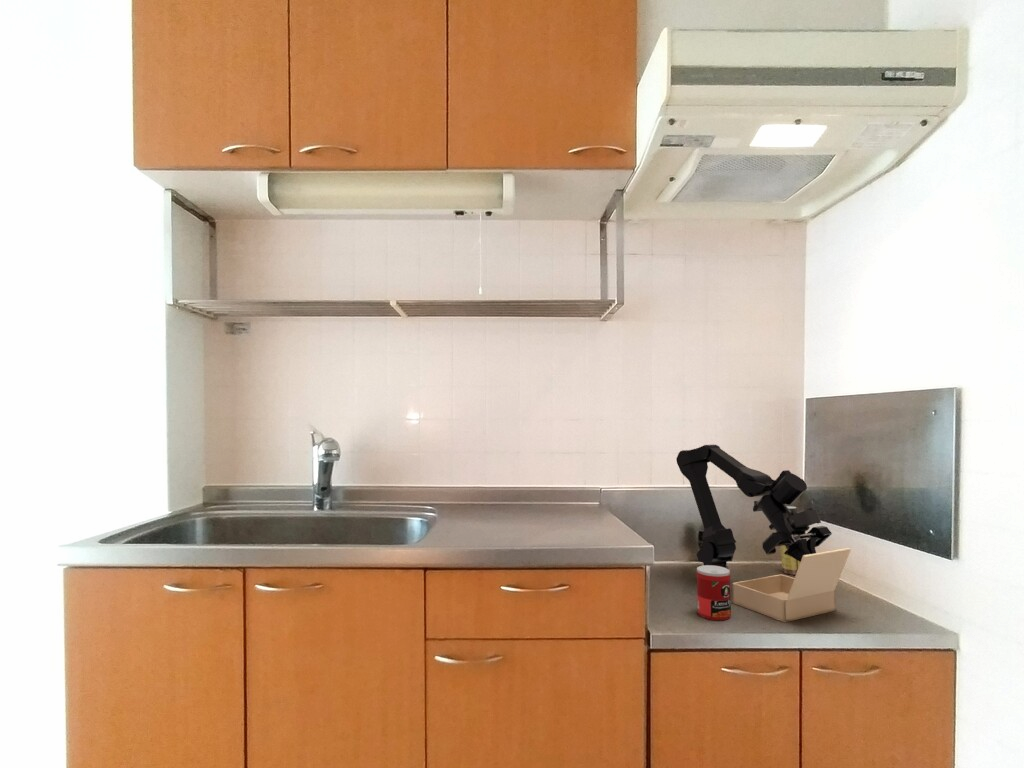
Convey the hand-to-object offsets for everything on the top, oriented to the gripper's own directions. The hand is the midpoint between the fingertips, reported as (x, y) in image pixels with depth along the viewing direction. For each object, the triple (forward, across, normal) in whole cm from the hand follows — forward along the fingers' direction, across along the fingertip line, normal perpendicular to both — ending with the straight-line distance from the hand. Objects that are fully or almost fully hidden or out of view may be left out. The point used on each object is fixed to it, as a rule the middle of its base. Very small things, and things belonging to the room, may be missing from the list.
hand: (819, 570), depth 142 cm
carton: (+1, 0, +16) cm, 16 cm away
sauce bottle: (-13, +28, +30) cm, 43 cm away
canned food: (-1, -20, +18) cm, 27 cm away
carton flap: (0, 0, +1) cm, 1 cm away
